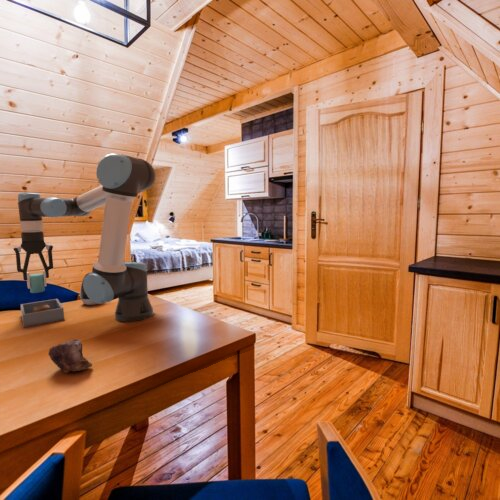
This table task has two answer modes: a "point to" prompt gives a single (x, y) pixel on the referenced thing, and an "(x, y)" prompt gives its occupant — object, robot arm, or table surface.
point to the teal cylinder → (36, 283)
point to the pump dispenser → (85, 295)
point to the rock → (69, 356)
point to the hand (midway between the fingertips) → (37, 286)
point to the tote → (41, 313)
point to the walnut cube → (41, 308)
